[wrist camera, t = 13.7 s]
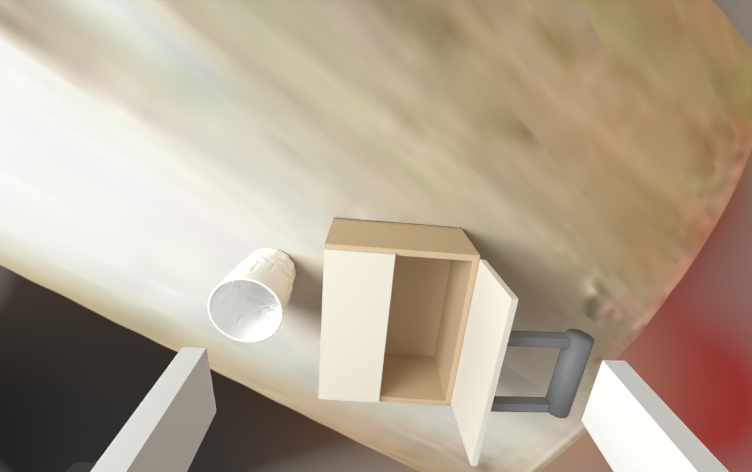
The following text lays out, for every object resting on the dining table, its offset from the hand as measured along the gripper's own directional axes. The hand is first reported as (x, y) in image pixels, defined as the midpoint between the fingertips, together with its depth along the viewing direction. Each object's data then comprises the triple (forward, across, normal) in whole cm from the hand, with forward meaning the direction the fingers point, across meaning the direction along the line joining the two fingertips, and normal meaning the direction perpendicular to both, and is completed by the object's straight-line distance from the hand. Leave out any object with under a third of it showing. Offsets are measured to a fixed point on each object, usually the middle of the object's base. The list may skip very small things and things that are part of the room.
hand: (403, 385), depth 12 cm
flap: (+20, +10, -16) cm, 27 cm away
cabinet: (+33, +2, -16) cm, 37 cm away
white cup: (+33, -14, -13) cm, 38 cm away
